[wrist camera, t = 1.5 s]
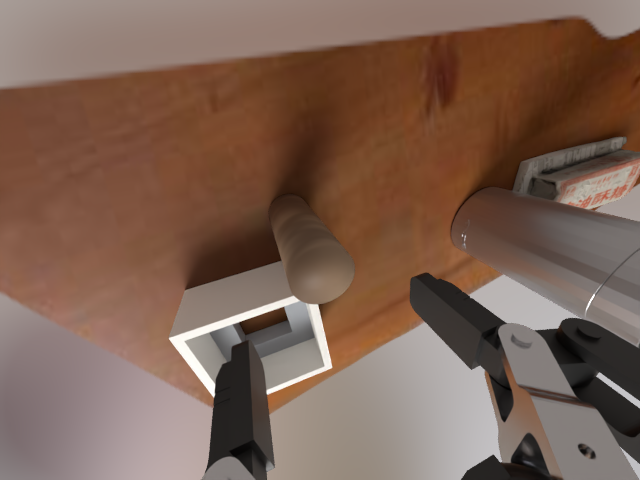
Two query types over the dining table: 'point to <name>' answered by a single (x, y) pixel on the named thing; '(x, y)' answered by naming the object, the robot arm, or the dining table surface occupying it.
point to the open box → (270, 343)
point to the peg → (309, 252)
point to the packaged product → (581, 174)
